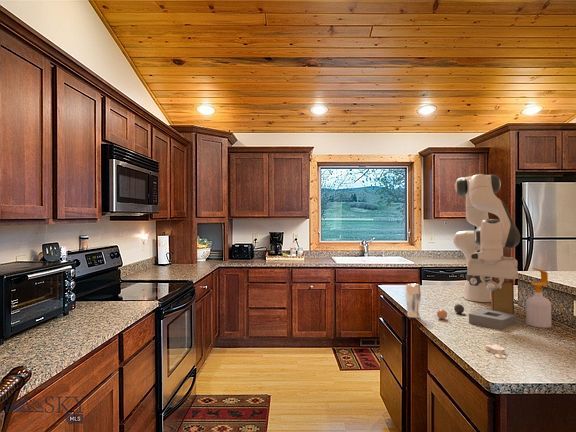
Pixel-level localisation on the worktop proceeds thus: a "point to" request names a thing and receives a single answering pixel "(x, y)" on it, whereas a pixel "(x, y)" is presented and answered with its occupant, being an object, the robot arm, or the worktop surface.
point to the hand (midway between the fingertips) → (491, 287)
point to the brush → (496, 350)
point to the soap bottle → (539, 305)
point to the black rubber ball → (459, 308)
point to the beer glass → (413, 300)
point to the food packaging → (503, 296)
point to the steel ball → (491, 285)
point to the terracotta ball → (441, 314)
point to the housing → (492, 319)
